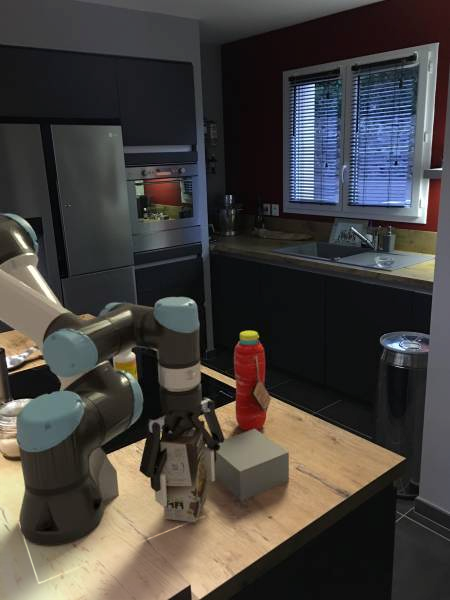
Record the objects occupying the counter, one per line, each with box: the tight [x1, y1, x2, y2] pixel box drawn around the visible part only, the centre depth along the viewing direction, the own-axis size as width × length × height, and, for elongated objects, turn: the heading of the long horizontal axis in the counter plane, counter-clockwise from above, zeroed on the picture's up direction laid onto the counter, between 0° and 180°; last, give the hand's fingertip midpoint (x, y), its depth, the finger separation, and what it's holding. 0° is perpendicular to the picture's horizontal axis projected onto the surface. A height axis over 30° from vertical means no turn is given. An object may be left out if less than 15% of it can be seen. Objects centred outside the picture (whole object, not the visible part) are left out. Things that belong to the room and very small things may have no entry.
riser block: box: [214, 429, 290, 502], centre depth 110 cm, size 12×12×7 cm
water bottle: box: [233, 330, 272, 432], centre depth 128 cm, size 12×8×25 cm, turn 19°
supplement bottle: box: [112, 348, 139, 383], centre depth 157 cm, size 7×7×13 cm
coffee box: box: [160, 420, 208, 523], centre depth 99 cm, size 9×6×16 cm
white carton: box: [89, 446, 120, 502], centre depth 107 cm, size 4×7×10 cm, turn 31°
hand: (185, 490), depth 100 cm, fingers closed on coffee box, 11 cm apart
